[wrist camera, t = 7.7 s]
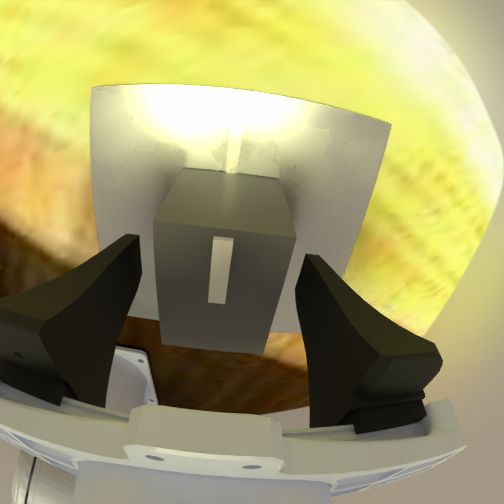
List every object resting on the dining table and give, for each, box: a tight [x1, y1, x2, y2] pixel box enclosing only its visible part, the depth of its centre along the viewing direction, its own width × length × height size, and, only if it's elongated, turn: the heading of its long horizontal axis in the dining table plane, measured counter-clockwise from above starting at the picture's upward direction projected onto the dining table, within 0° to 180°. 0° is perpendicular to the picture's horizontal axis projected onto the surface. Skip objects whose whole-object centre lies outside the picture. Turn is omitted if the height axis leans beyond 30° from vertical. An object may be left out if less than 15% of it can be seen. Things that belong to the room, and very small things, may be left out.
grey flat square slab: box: [90, 84, 392, 334], centre depth 13 cm, size 14×14×3 cm
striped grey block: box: [153, 168, 297, 354], centre depth 12 cm, size 6×4×5 cm
